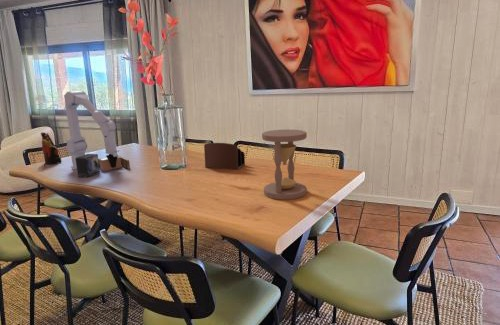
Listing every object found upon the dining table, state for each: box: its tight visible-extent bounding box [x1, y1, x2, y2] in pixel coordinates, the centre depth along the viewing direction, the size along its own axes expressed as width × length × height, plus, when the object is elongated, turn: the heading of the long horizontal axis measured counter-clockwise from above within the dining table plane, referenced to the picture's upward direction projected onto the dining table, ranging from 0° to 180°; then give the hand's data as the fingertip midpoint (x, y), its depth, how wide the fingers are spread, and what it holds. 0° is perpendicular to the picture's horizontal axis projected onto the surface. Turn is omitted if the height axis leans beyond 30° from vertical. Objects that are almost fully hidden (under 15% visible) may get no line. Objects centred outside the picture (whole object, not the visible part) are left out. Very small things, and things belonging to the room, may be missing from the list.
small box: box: [75, 153, 101, 178], centre depth 182 cm, size 11×6×10 cm, turn 168°
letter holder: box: [203, 142, 246, 171], centre depth 187 cm, size 10×20×14 cm, turn 69°
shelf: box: [98, 155, 131, 170], centre depth 194 cm, size 17×14×5 cm
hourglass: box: [261, 129, 308, 201], centre depth 138 cm, size 18×18×25 cm
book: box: [98, 157, 123, 172], centre depth 194 cm, size 5×10×6 cm, turn 133°
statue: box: [40, 131, 62, 165], centre depth 214 cm, size 12×8×20 cm, turn 49°
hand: (113, 167), depth 191 cm, fingers closed
